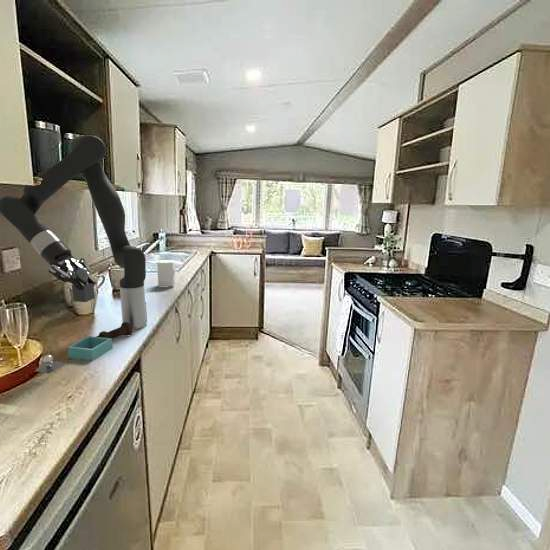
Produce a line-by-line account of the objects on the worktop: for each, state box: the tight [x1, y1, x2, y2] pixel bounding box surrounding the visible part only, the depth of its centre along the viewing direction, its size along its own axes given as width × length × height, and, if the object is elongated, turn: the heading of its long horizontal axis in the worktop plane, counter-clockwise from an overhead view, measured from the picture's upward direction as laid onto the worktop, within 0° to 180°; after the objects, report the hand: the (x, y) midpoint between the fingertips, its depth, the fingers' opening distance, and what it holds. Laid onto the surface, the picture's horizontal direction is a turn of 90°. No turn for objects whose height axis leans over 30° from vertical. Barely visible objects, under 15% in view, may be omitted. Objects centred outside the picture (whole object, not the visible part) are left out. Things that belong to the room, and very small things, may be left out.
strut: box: [71, 267, 96, 303], centre depth 118 cm, size 4×4×10 cm
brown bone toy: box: [95, 322, 133, 340], centre depth 138 cm, size 6×5×15 cm
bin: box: [67, 335, 114, 361], centre depth 124 cm, size 10×9×5 cm
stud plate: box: [34, 354, 68, 374], centre depth 113 cm, size 7×7×5 cm
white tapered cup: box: [156, 259, 176, 288], centre depth 220 cm, size 9×9×15 cm
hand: (88, 286), depth 118 cm, fingers closed on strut, 4 cm apart
